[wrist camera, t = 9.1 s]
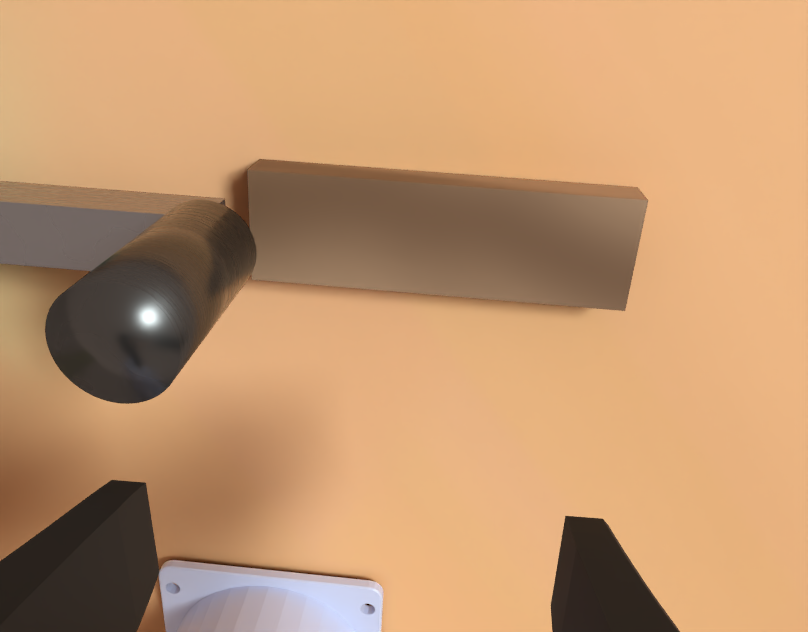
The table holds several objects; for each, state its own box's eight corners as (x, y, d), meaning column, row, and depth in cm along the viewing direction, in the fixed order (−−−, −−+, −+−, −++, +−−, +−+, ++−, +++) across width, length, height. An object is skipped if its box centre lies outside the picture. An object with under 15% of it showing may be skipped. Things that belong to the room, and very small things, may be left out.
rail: (616, 292, 20) (625, 310, 19) (263, 263, 20) (251, 279, 19) (637, 187, 18) (647, 200, 17) (259, 159, 19) (247, 169, 18)
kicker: (285, 394, 21) (200, 583, 15) (-64, 362, 22) (-299, 530, 15) (277, -3, 17) (147, 8, 10) (-167, -31, 17) (-574, -38, 11)
